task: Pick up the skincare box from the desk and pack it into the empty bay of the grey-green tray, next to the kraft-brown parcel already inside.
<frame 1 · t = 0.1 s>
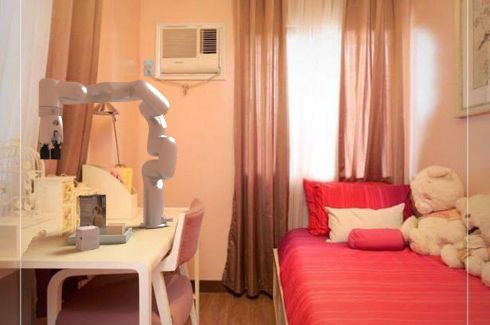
hand: (50, 159, 119), 31 cm above the table, tool pointing down, fingers open, 9 cm apart
grey-green tray: (102, 239, 126), on the table
parcel: (115, 239, 127), resting on grey-green tray
coffee box: (93, 233, 139), on the table
skincare box: (87, 248, 114), on the table
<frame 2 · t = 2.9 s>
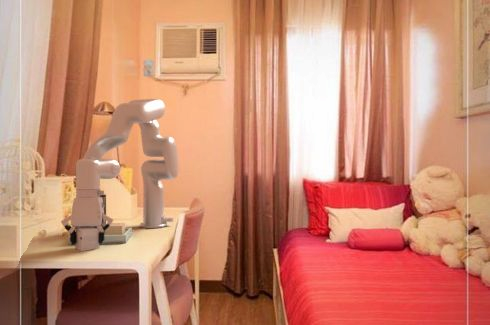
hand: (87, 243, 114), 2 cm above the table, tool pointing down, fingers closed on skincare box, 8 cm apart
skincare box: (87, 248, 114), on the table, touching gripper
everything else where it was.
when the fingers open (4 cm above the table, at t = 8.5 s): skincare box drops 1 cm, resting on grey-green tray.
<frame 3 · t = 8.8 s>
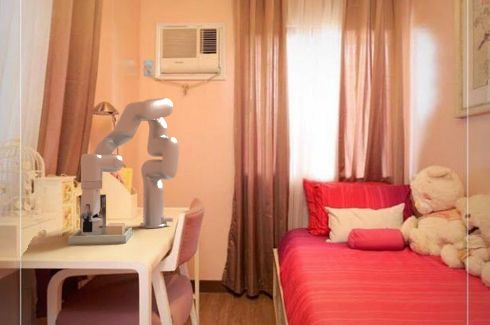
hand: (91, 229, 125), 4 cm above the table, tool pointing down, fingers open, 9 cm apart
skincare box: (91, 238, 126), point 1 cm above the table, touching gripper, grey-green tray
everything else where it was.
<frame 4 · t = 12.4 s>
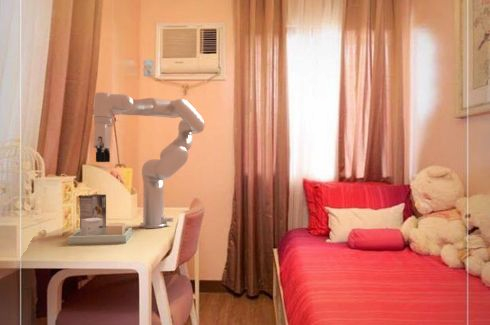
hand: (103, 162, 138), 30 cm above the table, tool pointing down, fingers open, 9 cm apart
skincare box: (91, 238, 126), point 1 cm above the table, touching grey-green tray
everything else where it was.
at the end: skincare box inside the target area on the grey-green tray (0.5 cm from its centre), point 0.6 cm above the grey-green tray's base; skincare box tilted 0°; the gripper is holding nothing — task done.
